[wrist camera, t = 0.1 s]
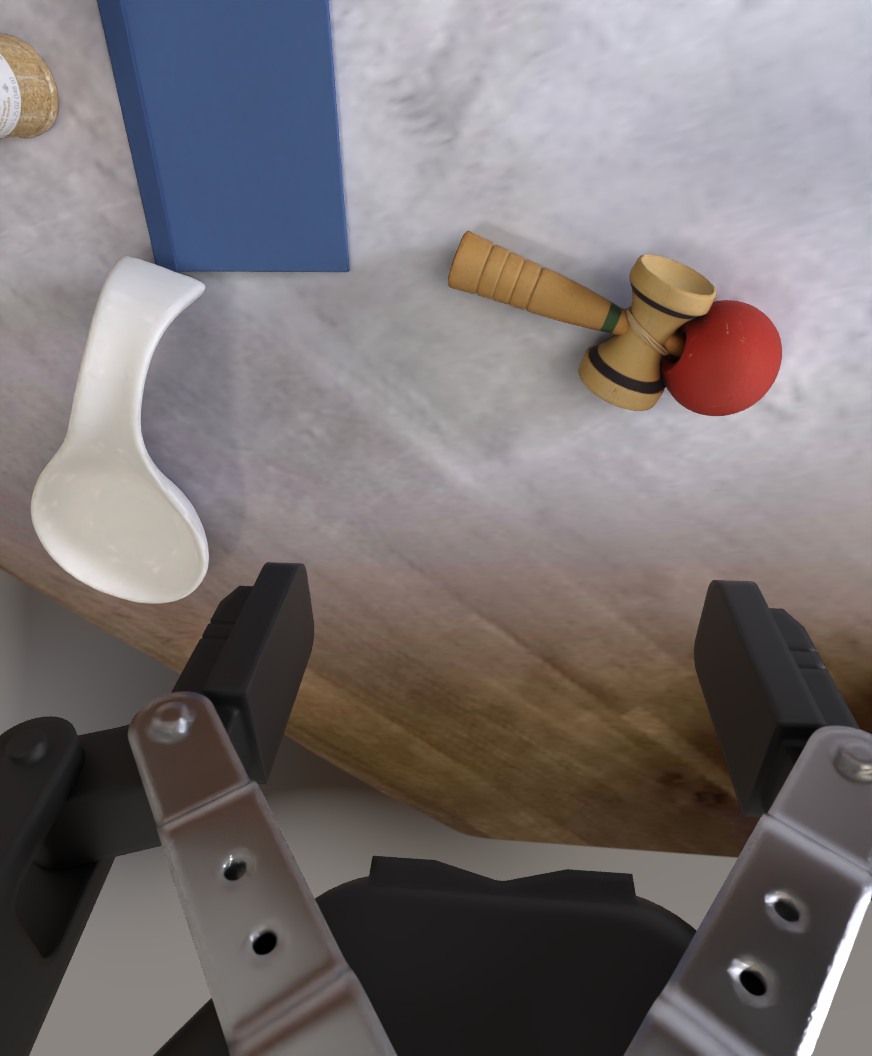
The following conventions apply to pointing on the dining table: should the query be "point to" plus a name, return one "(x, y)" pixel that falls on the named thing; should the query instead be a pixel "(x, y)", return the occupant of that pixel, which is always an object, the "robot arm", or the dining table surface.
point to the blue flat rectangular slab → (232, 131)
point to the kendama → (641, 329)
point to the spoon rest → (121, 454)
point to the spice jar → (24, 91)
